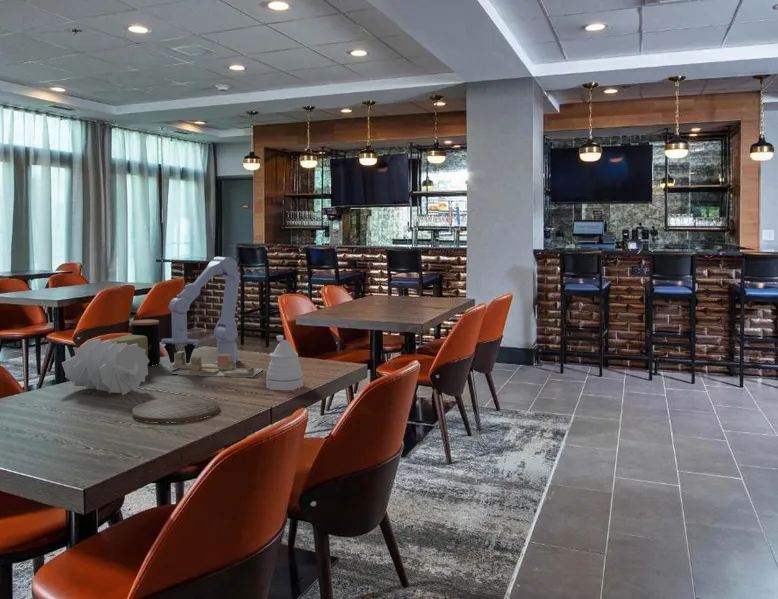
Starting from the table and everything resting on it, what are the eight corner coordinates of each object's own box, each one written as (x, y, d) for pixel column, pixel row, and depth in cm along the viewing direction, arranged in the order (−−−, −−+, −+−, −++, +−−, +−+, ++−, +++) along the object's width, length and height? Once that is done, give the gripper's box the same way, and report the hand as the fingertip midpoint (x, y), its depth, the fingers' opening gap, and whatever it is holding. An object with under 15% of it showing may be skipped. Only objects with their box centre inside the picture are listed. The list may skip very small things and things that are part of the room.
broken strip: (194, 371, 254) (194, 355, 253) (254, 373, 251) (254, 357, 250) (188, 373, 249) (188, 358, 248) (250, 376, 246) (249, 360, 245)
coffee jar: (126, 366, 264) (125, 322, 262) (143, 361, 274) (142, 319, 272) (149, 368, 260) (147, 323, 259) (165, 363, 271) (164, 320, 269)
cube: (221, 364, 260) (221, 353, 259) (232, 365, 259) (232, 354, 259) (217, 367, 255) (217, 355, 255) (228, 367, 255) (228, 356, 254)
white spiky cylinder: (95, 396, 232) (146, 401, 221) (52, 383, 217) (105, 388, 206) (110, 346, 238) (161, 349, 226) (70, 331, 223) (122, 333, 212)
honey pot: (258, 388, 229) (258, 337, 227) (281, 381, 240) (280, 332, 238) (288, 392, 223) (288, 340, 221) (310, 385, 234) (310, 335, 232)
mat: (186, 367, 263) (186, 366, 263) (263, 370, 259) (263, 368, 259) (170, 374, 249) (170, 373, 249) (252, 377, 245) (252, 376, 245)
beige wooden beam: (178, 365, 262) (177, 350, 262) (236, 367, 259) (235, 352, 259) (172, 368, 257) (172, 353, 257) (231, 370, 254) (231, 355, 254)
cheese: (108, 385, 230) (107, 343, 229) (86, 383, 233) (84, 342, 232) (149, 373, 251) (148, 334, 250) (128, 371, 254) (127, 333, 253)
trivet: (118, 412, 198) (118, 406, 198) (194, 398, 215) (194, 392, 215) (155, 430, 180) (155, 423, 180) (235, 413, 198) (235, 407, 197)
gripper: (157, 329, 255) (158, 363, 256) (192, 330, 253) (193, 365, 254) (165, 327, 262) (166, 360, 263) (200, 327, 260) (200, 361, 261)
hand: (180, 362), depth 259 cm, fingers open, 6 cm apart
